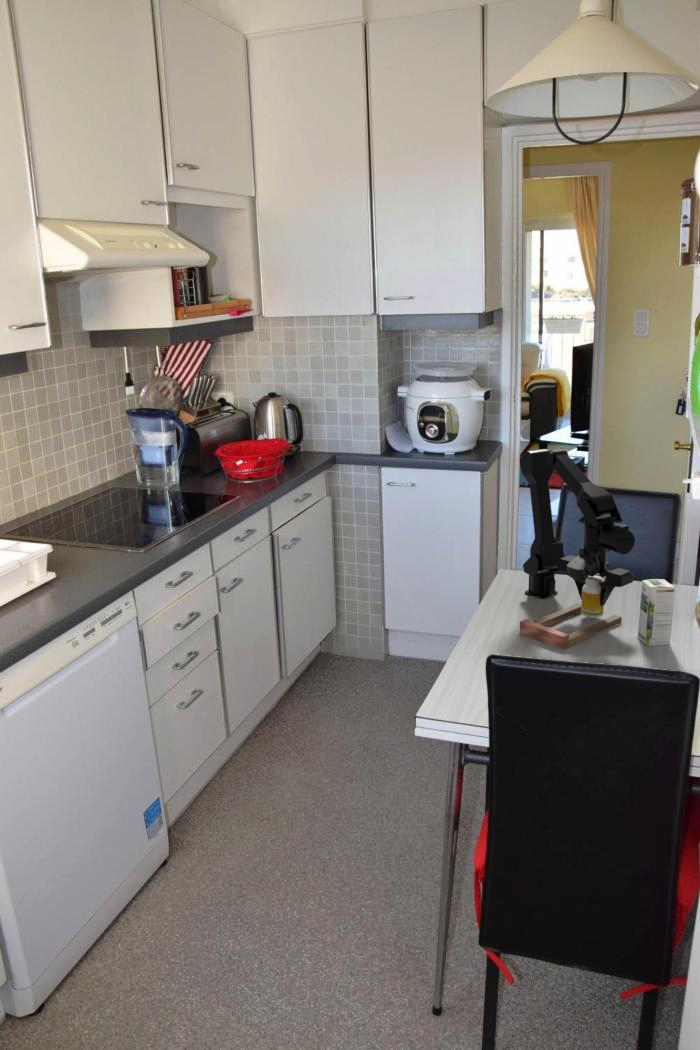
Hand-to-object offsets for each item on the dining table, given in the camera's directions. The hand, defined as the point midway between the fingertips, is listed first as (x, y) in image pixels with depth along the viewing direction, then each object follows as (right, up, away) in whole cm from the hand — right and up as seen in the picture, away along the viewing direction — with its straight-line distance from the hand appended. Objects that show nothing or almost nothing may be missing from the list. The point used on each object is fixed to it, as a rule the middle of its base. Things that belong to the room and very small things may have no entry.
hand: (592, 602), depth 211 cm
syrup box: (+11, -8, -13) cm, 19 cm away
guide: (-6, -6, -3) cm, 9 cm away
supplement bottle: (0, -3, +1) cm, 3 cm away
